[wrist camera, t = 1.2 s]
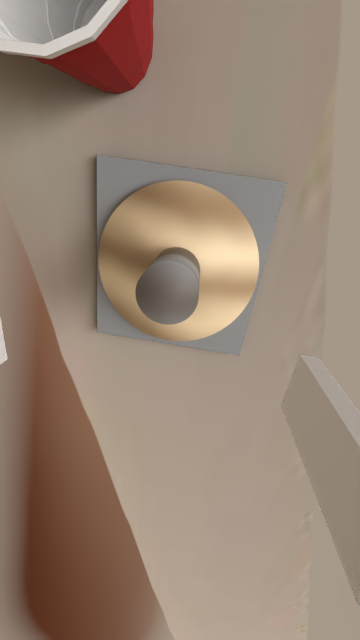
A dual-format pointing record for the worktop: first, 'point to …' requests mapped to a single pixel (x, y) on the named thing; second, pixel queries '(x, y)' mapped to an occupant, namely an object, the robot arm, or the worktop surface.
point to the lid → (178, 260)
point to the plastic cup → (83, 38)
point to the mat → (245, 192)
